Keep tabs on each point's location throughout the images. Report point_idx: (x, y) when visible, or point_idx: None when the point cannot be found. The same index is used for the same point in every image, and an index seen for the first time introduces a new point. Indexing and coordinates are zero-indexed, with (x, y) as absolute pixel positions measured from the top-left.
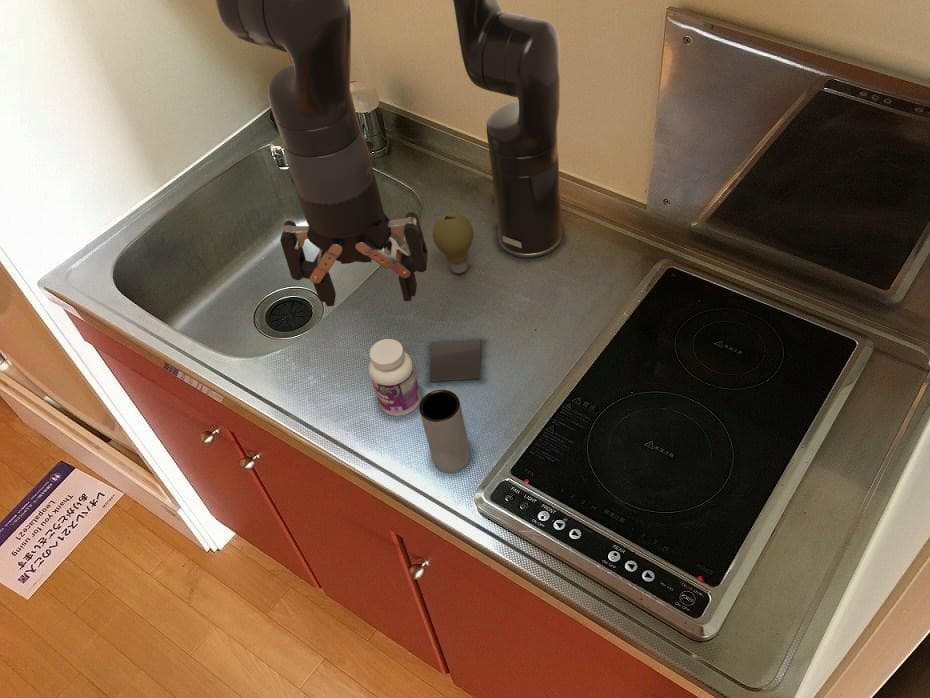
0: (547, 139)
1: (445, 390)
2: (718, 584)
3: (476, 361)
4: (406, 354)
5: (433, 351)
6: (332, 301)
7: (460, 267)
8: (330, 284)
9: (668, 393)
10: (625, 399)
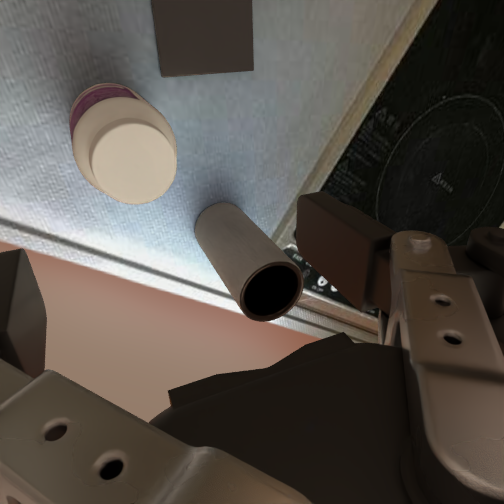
0: None
1: (281, 263)
2: None
3: (245, 25)
4: (163, 124)
5: None
6: (42, 314)
7: None
8: (24, 311)
9: (478, 98)
10: (434, 110)
